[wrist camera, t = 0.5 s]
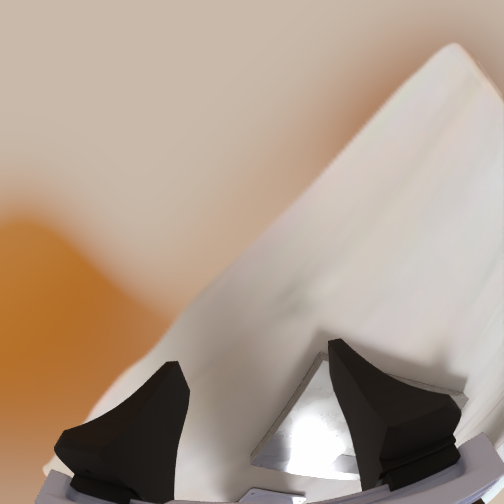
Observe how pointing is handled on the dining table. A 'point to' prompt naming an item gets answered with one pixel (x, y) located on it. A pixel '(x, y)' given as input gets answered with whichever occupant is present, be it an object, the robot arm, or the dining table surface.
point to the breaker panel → (318, 429)
